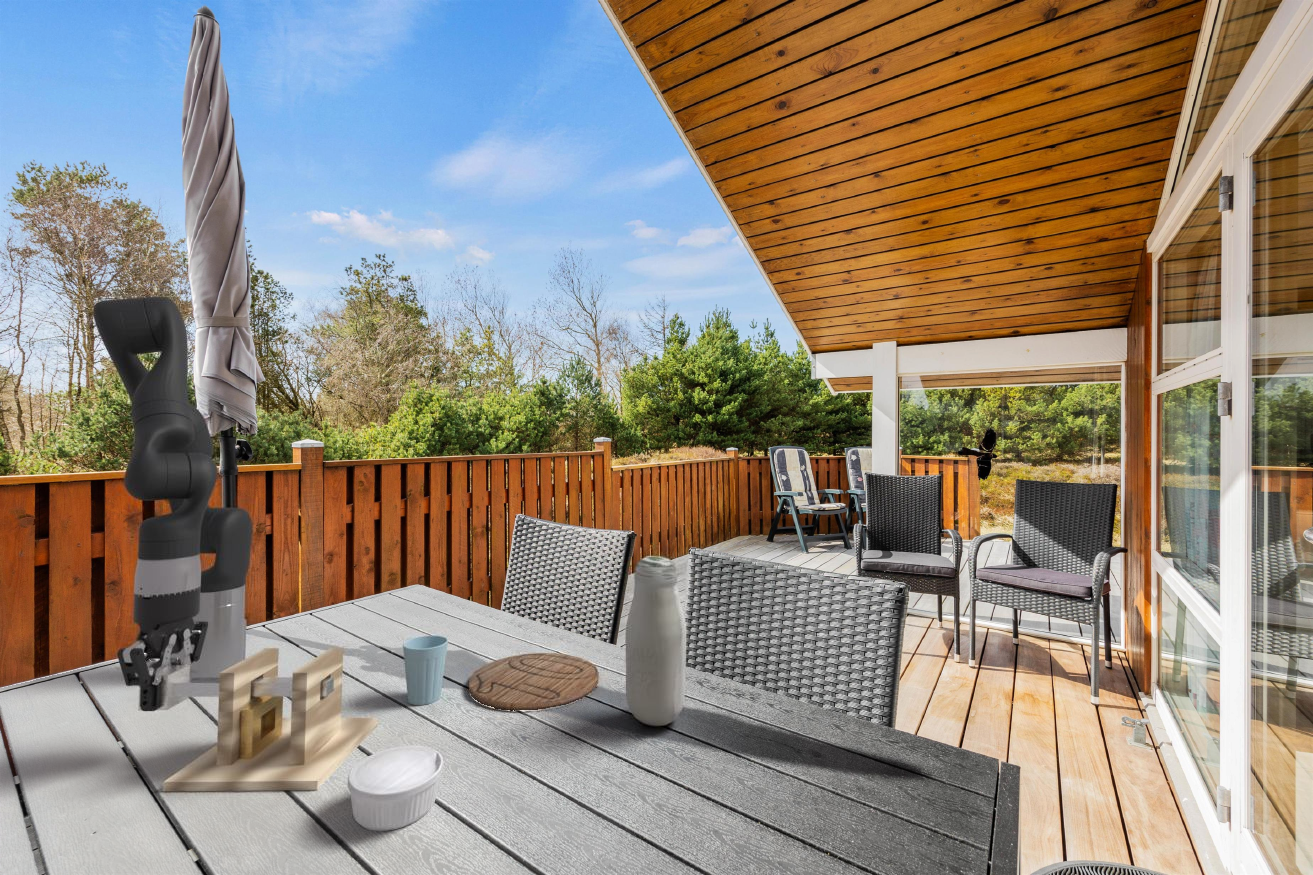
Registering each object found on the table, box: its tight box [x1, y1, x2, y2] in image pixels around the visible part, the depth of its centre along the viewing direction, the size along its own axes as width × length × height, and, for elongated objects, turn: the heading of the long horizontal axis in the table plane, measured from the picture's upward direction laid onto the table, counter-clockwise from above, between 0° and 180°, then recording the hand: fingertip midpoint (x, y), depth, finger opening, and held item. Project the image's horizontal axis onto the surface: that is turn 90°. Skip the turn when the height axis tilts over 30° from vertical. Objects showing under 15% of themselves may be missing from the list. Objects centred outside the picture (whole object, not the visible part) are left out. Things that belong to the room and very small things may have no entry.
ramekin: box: [347, 744, 444, 832], centre depth 73 cm, size 11×11×5 cm
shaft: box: [137, 665, 334, 711], centre depth 85 cm, size 26×4×5 cm, turn 92°
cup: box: [402, 634, 449, 706], centre depth 104 cm, size 8×8×10 cm
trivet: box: [468, 652, 600, 711], centre depth 112 cm, size 25×25×2 cm
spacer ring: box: [240, 696, 284, 759], centre depth 84 cm, size 2×7×7 cm, turn 3°
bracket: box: [162, 647, 379, 792], centre depth 85 cm, size 20×18×14 cm
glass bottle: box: [624, 555, 687, 727], centre depth 97 cm, size 10×10×28 cm
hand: (163, 702), depth 84 cm, fingers closed on shaft, 4 cm apart
